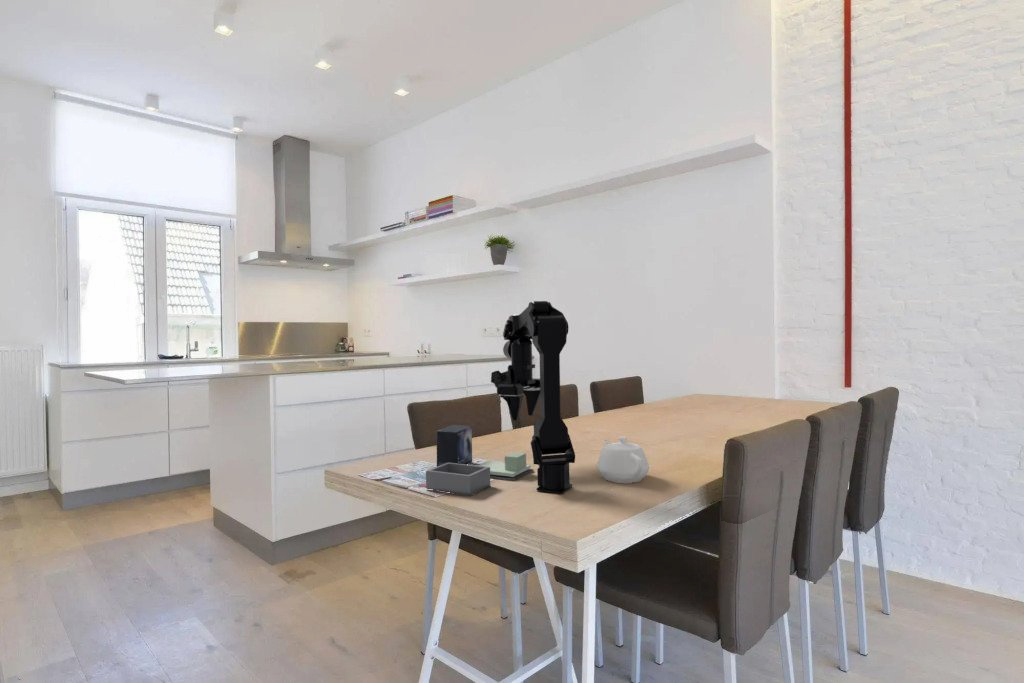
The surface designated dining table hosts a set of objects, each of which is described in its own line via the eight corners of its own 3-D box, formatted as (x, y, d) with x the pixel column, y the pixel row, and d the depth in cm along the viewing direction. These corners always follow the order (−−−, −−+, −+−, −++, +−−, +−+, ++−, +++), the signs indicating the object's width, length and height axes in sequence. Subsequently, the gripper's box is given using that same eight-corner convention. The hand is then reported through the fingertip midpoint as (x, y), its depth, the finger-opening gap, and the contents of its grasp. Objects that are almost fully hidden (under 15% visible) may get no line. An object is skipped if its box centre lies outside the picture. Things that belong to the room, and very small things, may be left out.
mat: (533, 470, 148) (533, 469, 148) (513, 481, 138) (513, 479, 138) (487, 465, 155) (487, 464, 155) (465, 475, 145) (465, 473, 145)
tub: (490, 485, 135) (490, 467, 134) (470, 496, 127) (469, 476, 127) (448, 480, 140) (447, 462, 140) (426, 490, 132) (425, 470, 132)
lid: (530, 469, 148) (530, 451, 148) (513, 478, 139) (512, 459, 139) (488, 465, 154) (488, 447, 154) (469, 473, 145) (469, 455, 145)
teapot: (583, 470, 148) (582, 431, 147) (627, 466, 151) (626, 428, 150) (616, 491, 128) (615, 446, 128) (665, 486, 131) (665, 442, 131)
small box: (458, 471, 149) (457, 431, 149) (435, 470, 151) (434, 430, 151) (473, 462, 159) (472, 424, 159) (452, 461, 161) (451, 424, 161)
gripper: (511, 359, 168) (513, 411, 168) (478, 363, 152) (480, 421, 152) (546, 359, 163) (547, 413, 163) (515, 363, 146) (517, 423, 147)
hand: (523, 417), depth 156 cm, fingers open, 9 cm apart
